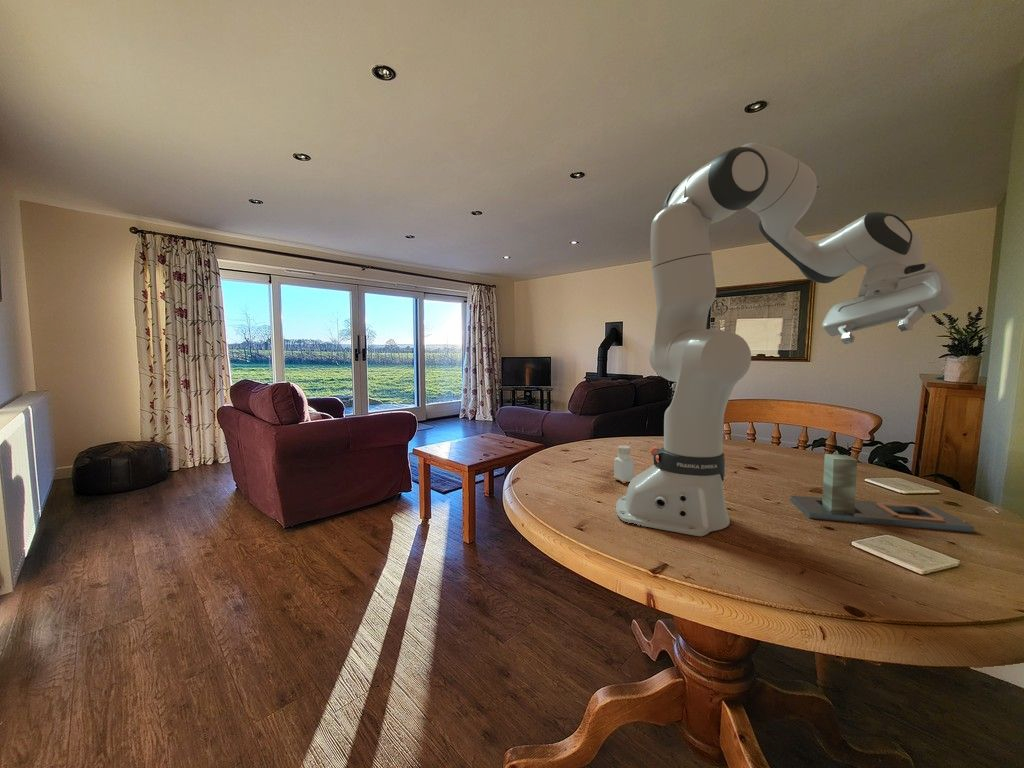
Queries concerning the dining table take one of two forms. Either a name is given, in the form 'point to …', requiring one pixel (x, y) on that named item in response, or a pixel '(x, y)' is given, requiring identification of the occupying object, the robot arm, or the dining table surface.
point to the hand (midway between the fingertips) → (874, 335)
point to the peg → (839, 483)
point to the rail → (884, 514)
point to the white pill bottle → (624, 464)
